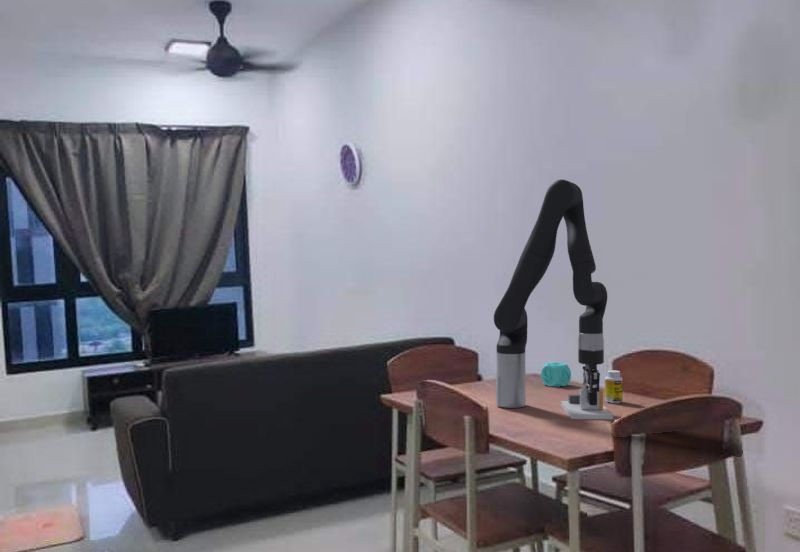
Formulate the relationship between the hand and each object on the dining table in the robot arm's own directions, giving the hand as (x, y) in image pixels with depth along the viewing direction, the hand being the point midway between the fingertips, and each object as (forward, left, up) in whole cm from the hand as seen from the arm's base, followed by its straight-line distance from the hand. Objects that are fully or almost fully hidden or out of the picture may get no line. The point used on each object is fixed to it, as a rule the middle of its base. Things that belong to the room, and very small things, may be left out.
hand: (591, 402), depth 227 cm
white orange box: (0, 0, -2) cm, 2 cm away
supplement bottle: (+11, +19, -4) cm, 22 cm away
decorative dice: (-3, +51, -4) cm, 51 cm away
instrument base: (-1, +3, -3) cm, 5 cm away
